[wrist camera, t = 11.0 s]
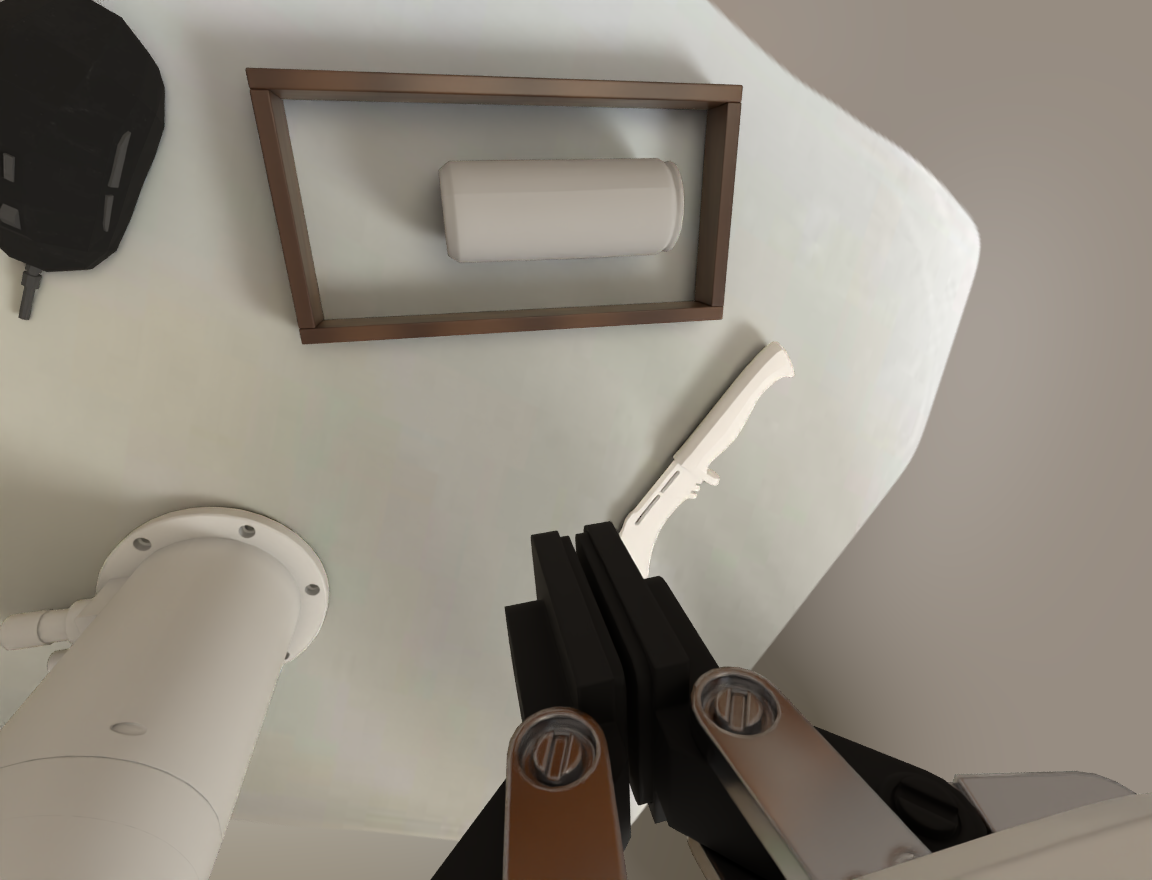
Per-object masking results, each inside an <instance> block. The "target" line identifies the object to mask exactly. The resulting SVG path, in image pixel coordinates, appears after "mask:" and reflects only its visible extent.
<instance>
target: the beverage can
mask: <svg viewBox="0 0 1152 880" xmlns="http://www.w3.org/2000/svg"><path fill="white" fill-rule="evenodd" d="M439 181H440V191H441V200H442V209H443V218H444V227H445V235H446V244H447V252H448V256H449V257H451V258H453V259H454V260H456V261H458V262H460V263H466V262H492V261H520V260H550V259H574V258H596V257H616V256H637V255H655V254H658V253H659V252H661V251H666V252H667V251H669V250H671V249H672V248H673V247H674V245H675V244H676V242H677V240H678V237H679V235H680V231H681V227H682V221H683V214H684V189H683V183H682V177H681V174H680V172H679V169H678V167H677V166H676V164H675V163H673V162H671V161H667V162H663V161H662V160H660V159H657V158H641V159H559V160H478V161H449V162H447V163H446V164H445V165H444V166H443V167H441V168H440V169H439Z"/></svg>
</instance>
